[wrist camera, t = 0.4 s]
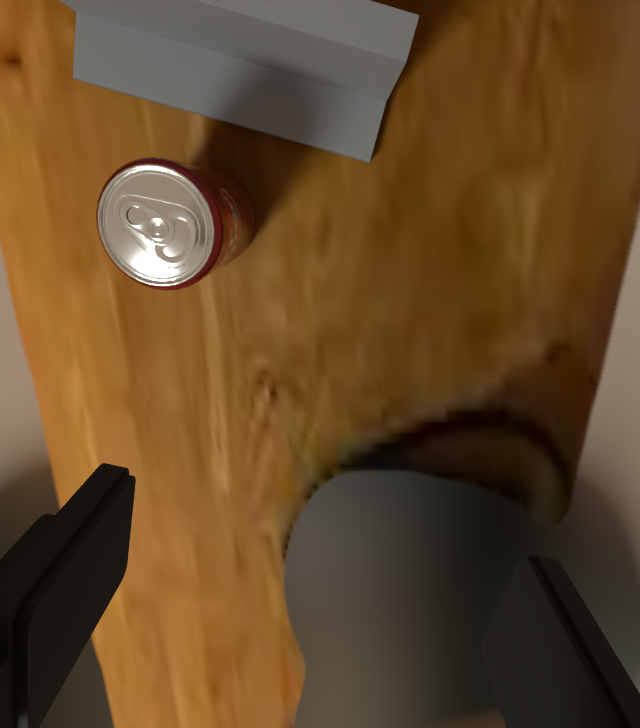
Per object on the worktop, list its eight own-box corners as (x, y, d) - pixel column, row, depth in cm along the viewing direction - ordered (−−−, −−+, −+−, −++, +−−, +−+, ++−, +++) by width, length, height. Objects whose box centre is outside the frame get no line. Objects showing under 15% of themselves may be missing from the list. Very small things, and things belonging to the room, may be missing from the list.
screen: (87, -16, 32) (-42, -124, 21) (393, 74, 33) (419, 15, 22) (81, 81, 34) (-40, 28, 23) (368, 162, 35) (382, 148, 24)
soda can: (274, 205, 36) (244, 210, 25) (227, 280, 38) (181, 316, 27) (194, 148, 35) (126, 126, 24) (151, 229, 37) (69, 244, 26)
